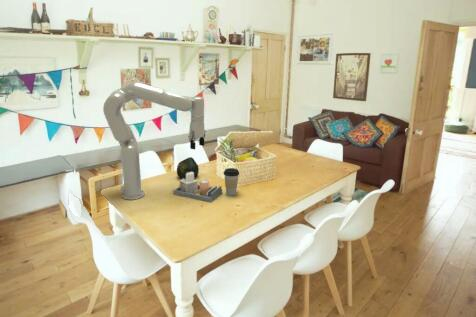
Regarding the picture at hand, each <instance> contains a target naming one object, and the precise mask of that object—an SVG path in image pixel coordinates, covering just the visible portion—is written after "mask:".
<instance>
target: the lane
mask: <svg viewBox="0 0 476 317" xmlns="http://www.w3.org/2000/svg"><path fill="white" fill-rule="evenodd" d="M211 188H212V187H210V186H209V190H210V189H211ZM198 191H200V184H198ZM172 194H173V195H176V196H180V197H185V198H189V199H194V200H199V201H203V202H206V203H207V202H208V203H212V202H213V201H215V200H216V199H217V198H218V197H220V196H221V195H222V194H223V189H222V185H220V186H217V189H215V190H214V191H213V192H211V193H210V197H206V196H202V195H200V194H197V193H193V194H192V193H187V192H183V191H180V185H179V186H178V187H176V188H174V189H173V191H172Z"/></svg>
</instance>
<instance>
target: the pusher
mask: <svg viewBox="0 0 476 317" xmlns="http://www.w3.org/2000/svg"><path fill="white" fill-rule="evenodd" d="M217 188H218V185H214V186H213V187H211V189H210V190H209V191H207V192H206V194H207V197H210V193H211V192H213V191H214V190H215V189H217Z"/></svg>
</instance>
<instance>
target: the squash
mask: <svg viewBox="0 0 476 317" xmlns="http://www.w3.org/2000/svg"><path fill="white" fill-rule="evenodd" d="M199 169H200V168H199V165H198V164H197V162H196V161H195V159H194V158H193V157H192V156H189V157H187V158H185V159H183V160H181V161H180V162H179V163H178V164H177V168H176V174H177V177H178V178H180V179H183V172H185V171H193V172H194V179H195V178H197V177H198V176H199V171H200V170H199Z"/></svg>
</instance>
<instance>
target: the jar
mask: <svg viewBox="0 0 476 317" xmlns="http://www.w3.org/2000/svg"><path fill="white" fill-rule="evenodd" d="M199 185H200V190H199V195H202V196H206V197H207V194H206V192H207V191H209V187H210V182H209V180H207V179H201V180H200V181H199Z"/></svg>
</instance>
